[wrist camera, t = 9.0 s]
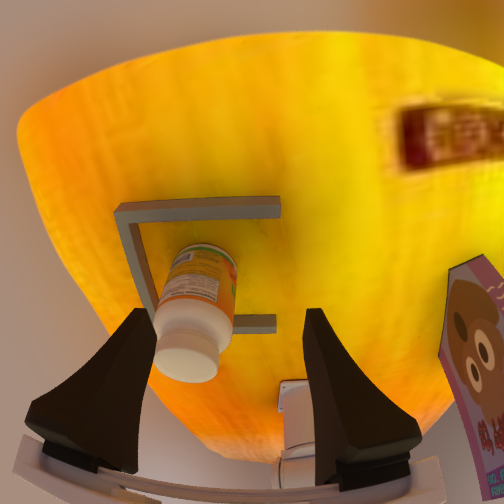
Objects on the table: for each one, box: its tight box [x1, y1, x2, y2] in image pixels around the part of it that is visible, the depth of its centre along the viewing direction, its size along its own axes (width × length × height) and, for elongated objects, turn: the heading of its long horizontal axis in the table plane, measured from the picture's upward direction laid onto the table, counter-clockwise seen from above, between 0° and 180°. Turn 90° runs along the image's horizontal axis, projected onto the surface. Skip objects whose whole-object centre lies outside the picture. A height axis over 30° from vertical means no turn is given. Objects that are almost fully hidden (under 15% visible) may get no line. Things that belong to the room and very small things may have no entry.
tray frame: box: [113, 196, 281, 334], centre depth 24 cm, size 13×12×2 cm
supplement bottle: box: [153, 244, 237, 383], centre depth 20 cm, size 5×5×10 cm
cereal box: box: [438, 254, 504, 501], centre depth 18 cm, size 17×5×24 cm, turn 23°
